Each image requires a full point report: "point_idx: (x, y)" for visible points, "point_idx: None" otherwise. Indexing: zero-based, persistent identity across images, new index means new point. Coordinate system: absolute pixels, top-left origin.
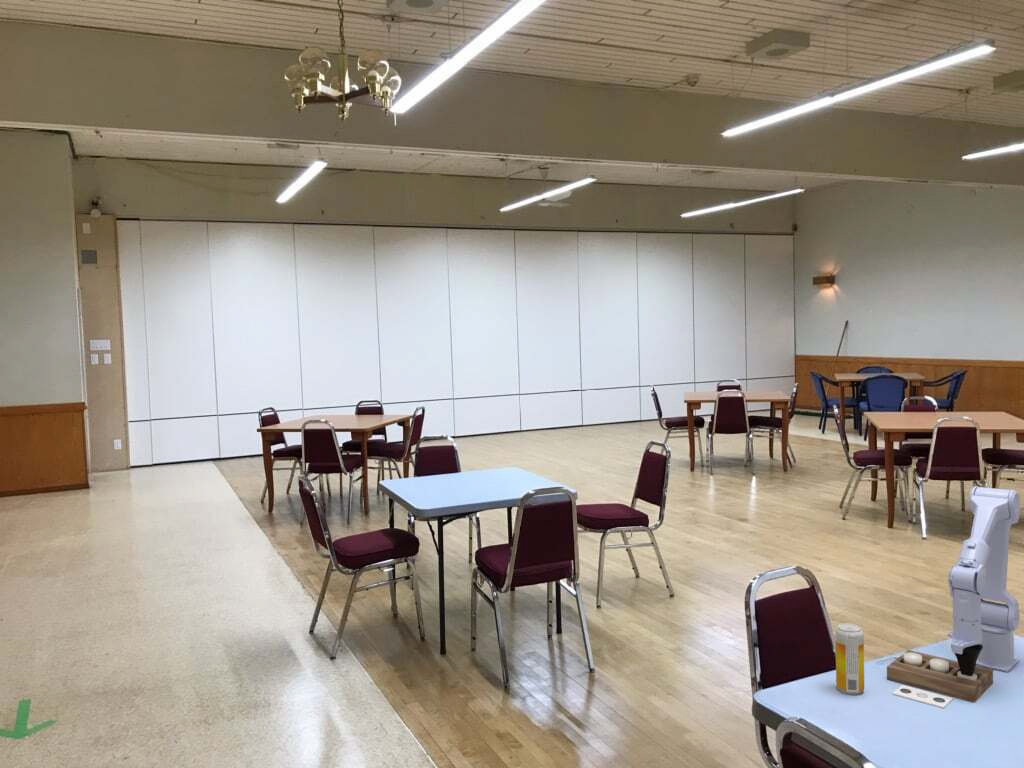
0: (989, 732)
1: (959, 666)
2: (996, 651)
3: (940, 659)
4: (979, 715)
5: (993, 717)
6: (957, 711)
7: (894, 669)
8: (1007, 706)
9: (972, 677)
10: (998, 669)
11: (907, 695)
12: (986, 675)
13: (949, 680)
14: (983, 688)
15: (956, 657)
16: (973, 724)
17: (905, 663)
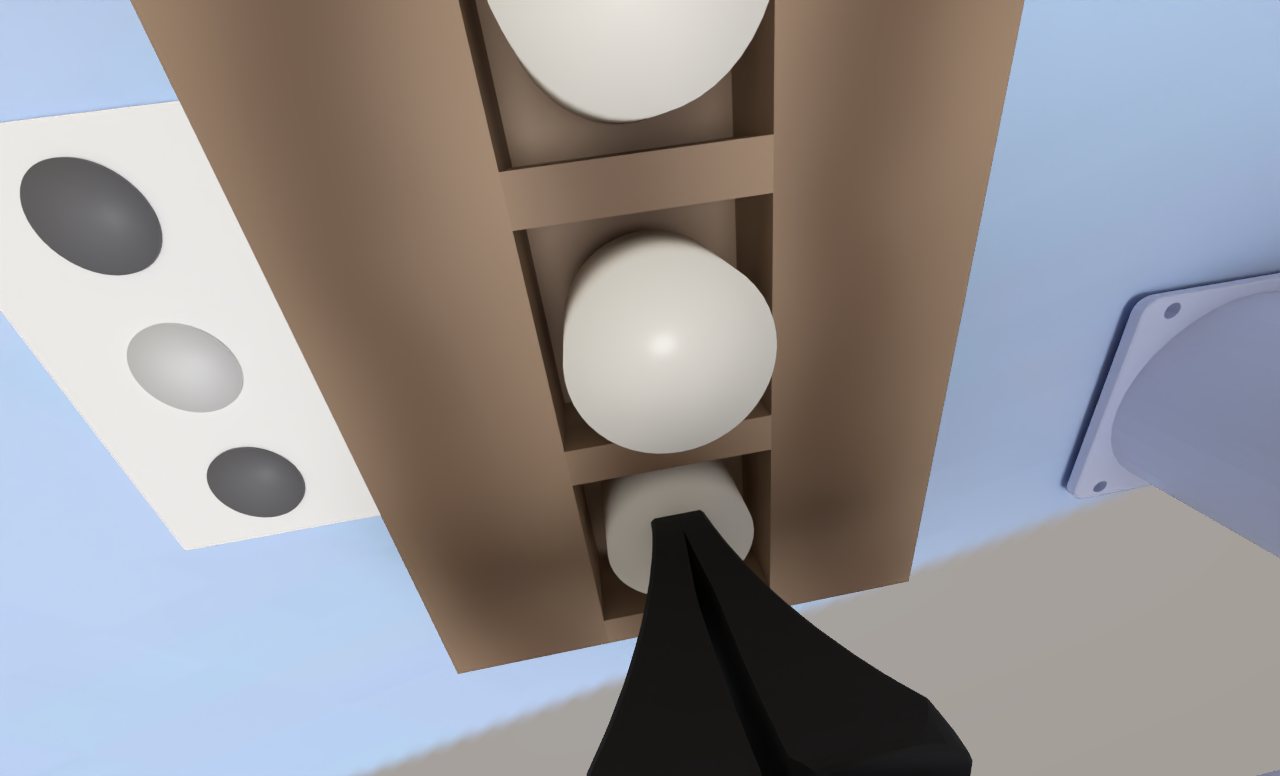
0: (195, 759)
1: (652, 567)
2: (1246, 513)
3: (760, 333)
4: (334, 665)
5: (383, 698)
6: (252, 596)
7: None
8: (580, 669)
9: (647, 588)
10: (1081, 453)
11: (29, 285)
12: None
13: (433, 529)
14: None
15: (636, 654)
16: (191, 700)
17: None
